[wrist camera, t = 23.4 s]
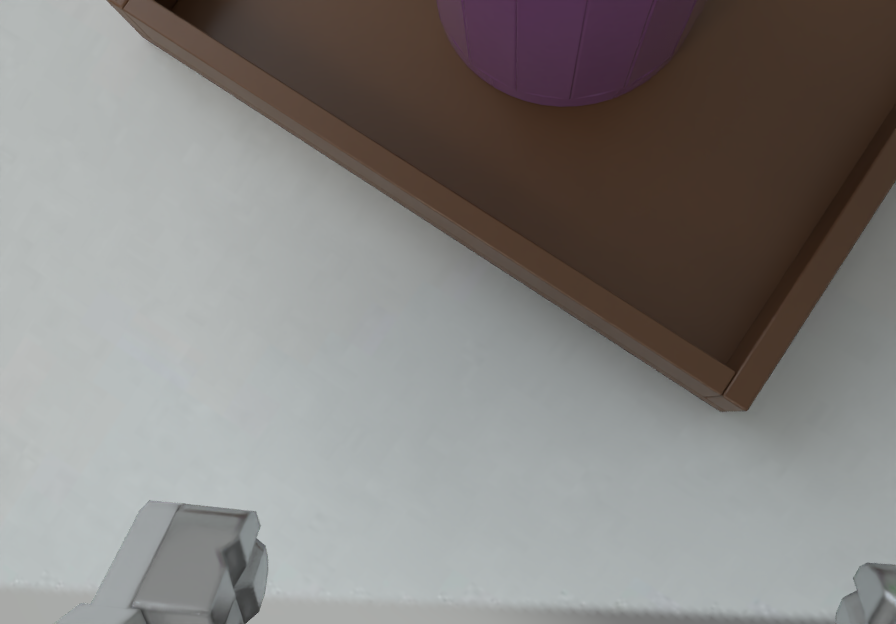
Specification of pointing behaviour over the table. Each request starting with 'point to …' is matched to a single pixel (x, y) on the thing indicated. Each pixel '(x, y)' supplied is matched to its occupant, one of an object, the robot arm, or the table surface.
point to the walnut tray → (598, 159)
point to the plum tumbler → (567, 44)
